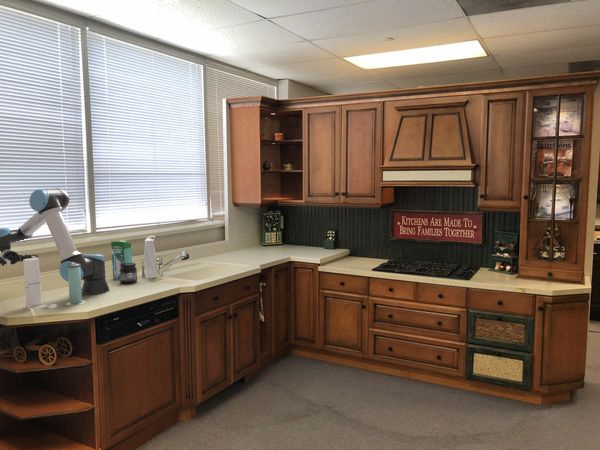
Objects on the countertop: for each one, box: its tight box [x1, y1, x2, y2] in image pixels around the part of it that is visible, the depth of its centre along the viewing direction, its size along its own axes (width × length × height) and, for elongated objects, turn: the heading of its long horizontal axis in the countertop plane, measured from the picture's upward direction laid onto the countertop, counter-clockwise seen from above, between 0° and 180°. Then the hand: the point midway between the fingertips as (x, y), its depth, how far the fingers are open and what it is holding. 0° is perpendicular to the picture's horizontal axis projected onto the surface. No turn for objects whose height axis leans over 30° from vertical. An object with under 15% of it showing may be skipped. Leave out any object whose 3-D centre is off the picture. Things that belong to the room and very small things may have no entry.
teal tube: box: [67, 264, 83, 305], centre depth 257 cm, size 6×6×20 cm
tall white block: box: [22, 257, 43, 309], centre depth 256 cm, size 7×7×25 cm
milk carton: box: [110, 240, 133, 280], centre depth 328 cm, size 9×9×25 cm
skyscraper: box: [141, 235, 158, 280], centre depth 326 cm, size 8×8×28 cm
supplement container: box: [119, 262, 138, 285], centre depth 313 cm, size 10×10×12 cm
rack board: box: [36, 299, 87, 310], centre depth 254 cm, size 24×12×1 cm, turn 123°
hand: (23, 261), depth 261 cm, fingers open, 13 cm apart
